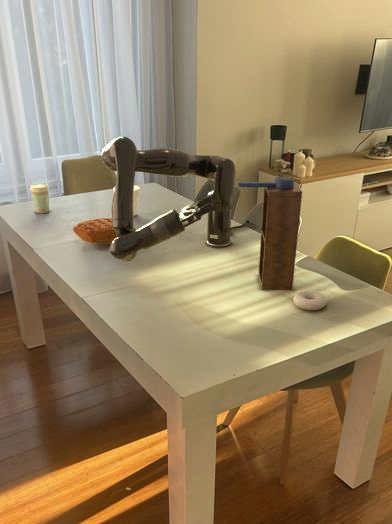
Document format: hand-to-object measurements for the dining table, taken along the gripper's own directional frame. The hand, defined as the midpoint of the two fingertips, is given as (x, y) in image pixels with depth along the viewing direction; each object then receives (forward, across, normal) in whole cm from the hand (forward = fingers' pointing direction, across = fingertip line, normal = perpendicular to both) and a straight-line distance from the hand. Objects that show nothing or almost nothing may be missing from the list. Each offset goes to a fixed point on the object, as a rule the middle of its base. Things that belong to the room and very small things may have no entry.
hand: (211, 202), depth 169 cm
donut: (+13, -17, +39) cm, 44 cm away
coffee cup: (-80, +83, -14) cm, 116 cm away
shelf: (+6, 0, +34) cm, 35 cm away
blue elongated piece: (+17, 0, +4) cm, 17 cm away
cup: (-44, +77, +6) cm, 89 cm away
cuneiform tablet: (-49, +41, +4) cm, 64 cm away
